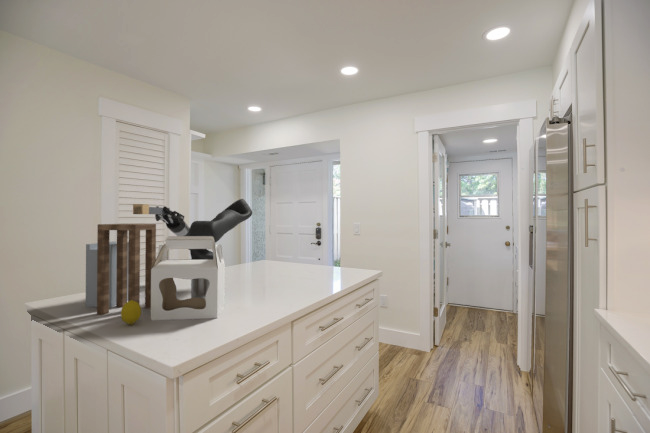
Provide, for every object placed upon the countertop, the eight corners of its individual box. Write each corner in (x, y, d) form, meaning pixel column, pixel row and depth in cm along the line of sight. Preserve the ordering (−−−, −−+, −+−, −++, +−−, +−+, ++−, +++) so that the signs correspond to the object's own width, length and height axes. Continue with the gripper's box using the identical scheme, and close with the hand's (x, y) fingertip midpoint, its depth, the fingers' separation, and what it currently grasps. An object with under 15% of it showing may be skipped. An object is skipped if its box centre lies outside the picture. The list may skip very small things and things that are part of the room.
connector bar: (170, 214, 144) (170, 205, 144) (142, 214, 124) (142, 204, 124) (162, 214, 144) (162, 205, 144) (132, 214, 124) (133, 204, 124)
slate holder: (134, 297, 134) (135, 241, 134) (110, 307, 120) (110, 244, 120) (112, 297, 135) (112, 241, 135) (85, 306, 121) (86, 244, 121)
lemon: (144, 322, 103) (145, 298, 103) (133, 328, 98) (133, 302, 98) (129, 321, 104) (129, 297, 104) (116, 327, 98) (116, 302, 98)
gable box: (149, 320, 105) (150, 237, 105) (164, 309, 118) (165, 235, 118) (218, 318, 108) (218, 237, 108) (225, 307, 121) (225, 235, 121)
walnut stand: (155, 305, 122) (155, 223, 122) (134, 315, 110) (135, 224, 110) (120, 305, 123) (121, 223, 123) (96, 314, 111) (97, 224, 111)
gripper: (189, 233, 152) (172, 215, 137) (162, 232, 153) (142, 215, 138) (193, 219, 156) (177, 201, 141) (166, 219, 156) (147, 200, 142)
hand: (160, 208), depth 139 cm, fingers closed on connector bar, 3 cm apart
